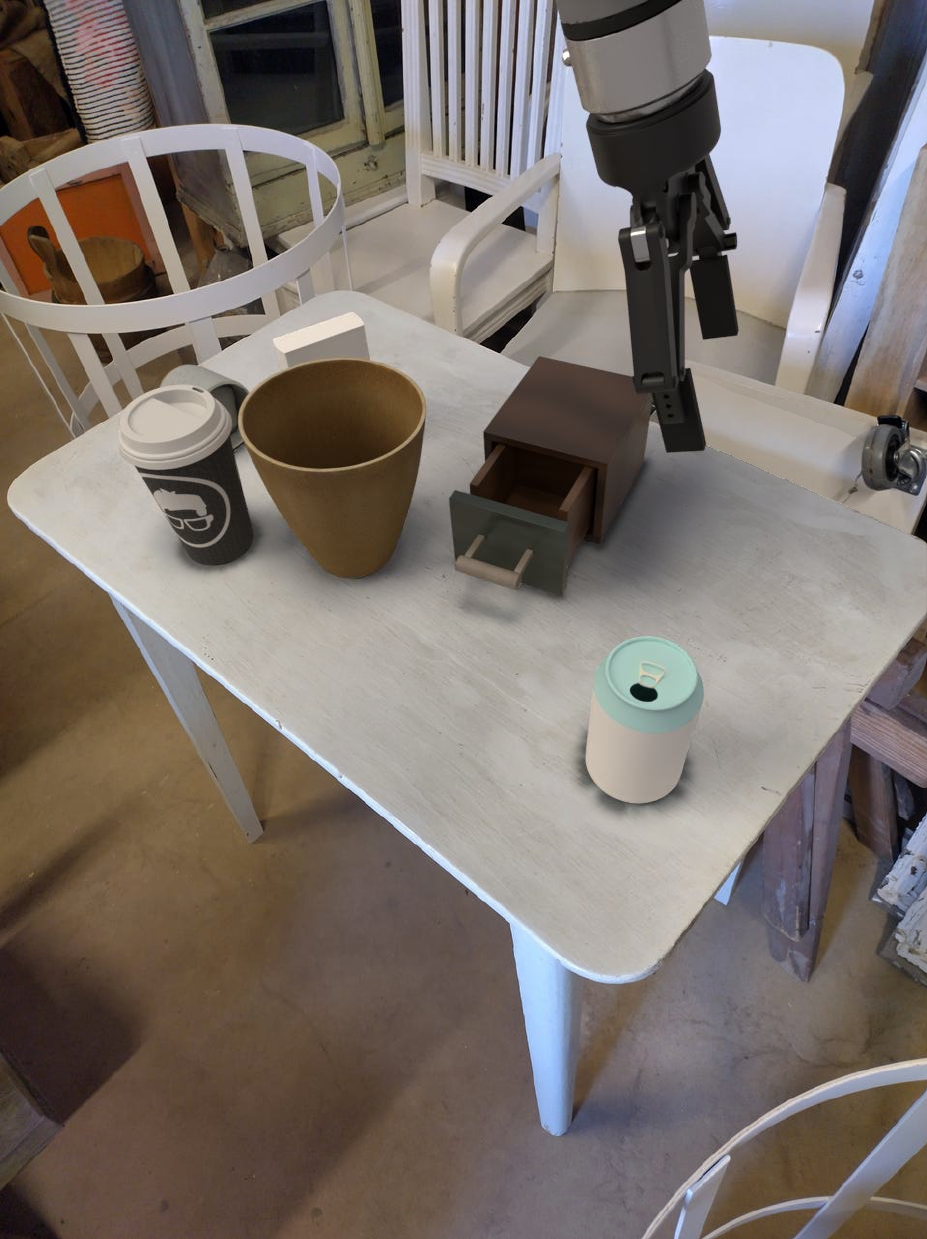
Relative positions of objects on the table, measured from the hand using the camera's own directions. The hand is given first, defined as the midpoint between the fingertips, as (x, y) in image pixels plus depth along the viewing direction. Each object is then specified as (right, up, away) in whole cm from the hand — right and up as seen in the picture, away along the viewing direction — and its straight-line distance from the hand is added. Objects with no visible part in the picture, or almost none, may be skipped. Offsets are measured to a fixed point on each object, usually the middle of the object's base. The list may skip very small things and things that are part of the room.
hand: (704, 389), depth 62 cm
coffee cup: (-42, -10, +17) cm, 46 cm away
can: (-6, -29, -1) cm, 29 cm away
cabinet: (-8, -4, +19) cm, 21 cm away
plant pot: (-28, -11, +15) cm, 34 cm away
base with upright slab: (-32, +3, +27) cm, 42 cm away
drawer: (-13, -11, +12) cm, 21 cm away
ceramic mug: (-47, +2, +27) cm, 54 cm away
